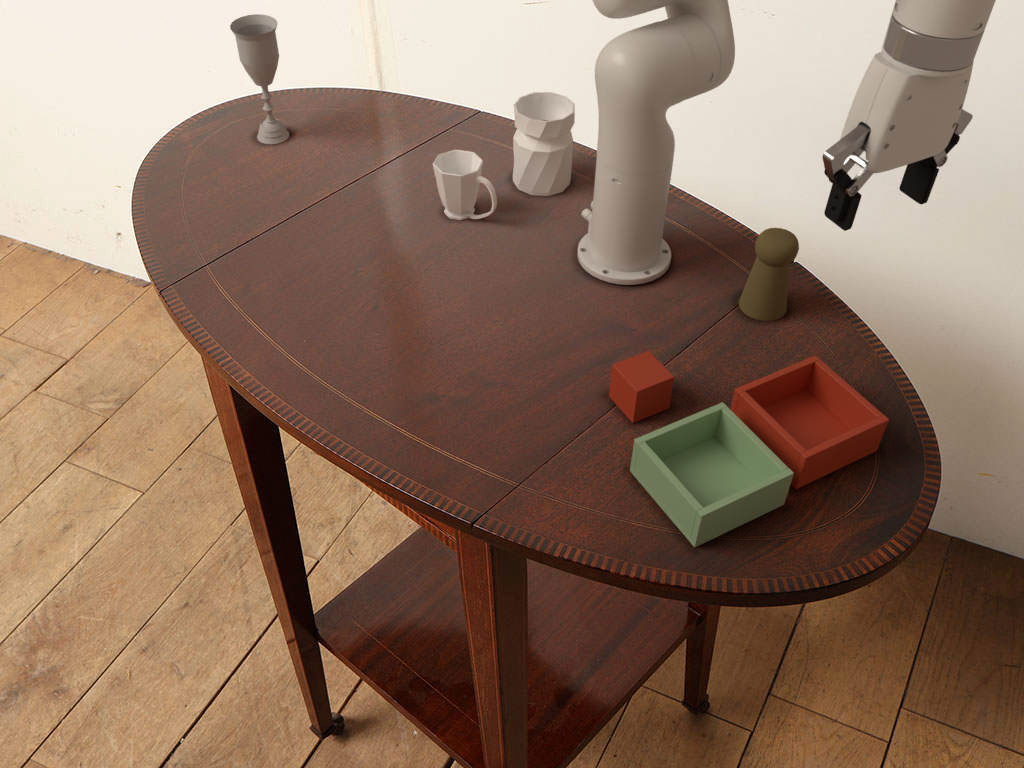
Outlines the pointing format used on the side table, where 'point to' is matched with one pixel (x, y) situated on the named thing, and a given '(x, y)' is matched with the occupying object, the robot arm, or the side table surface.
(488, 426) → the side table surface
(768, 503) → the sage bin
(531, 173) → the vase
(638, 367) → the rust block
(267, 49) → the chalice
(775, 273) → the olive brown pawn
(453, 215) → the cup
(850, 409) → the rust bin
